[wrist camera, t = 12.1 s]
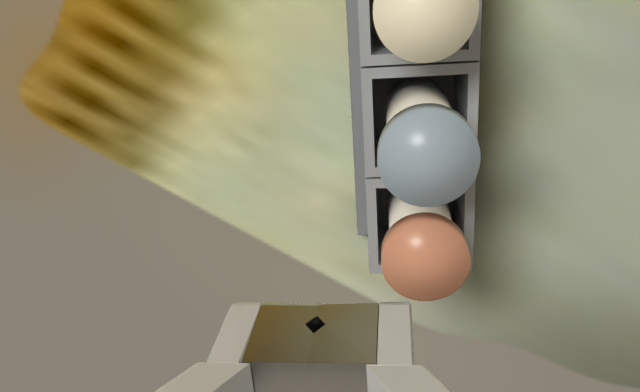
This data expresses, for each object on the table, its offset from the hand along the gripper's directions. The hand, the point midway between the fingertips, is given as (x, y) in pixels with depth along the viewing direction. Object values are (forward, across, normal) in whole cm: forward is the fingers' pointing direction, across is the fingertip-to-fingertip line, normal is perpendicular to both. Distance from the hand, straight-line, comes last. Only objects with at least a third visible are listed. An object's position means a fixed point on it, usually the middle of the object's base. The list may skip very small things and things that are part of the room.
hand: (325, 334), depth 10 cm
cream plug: (+24, -2, -3) cm, 24 cm away
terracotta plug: (+23, -2, +8) cm, 25 cm away
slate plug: (+22, -2, +2) cm, 22 cm away
